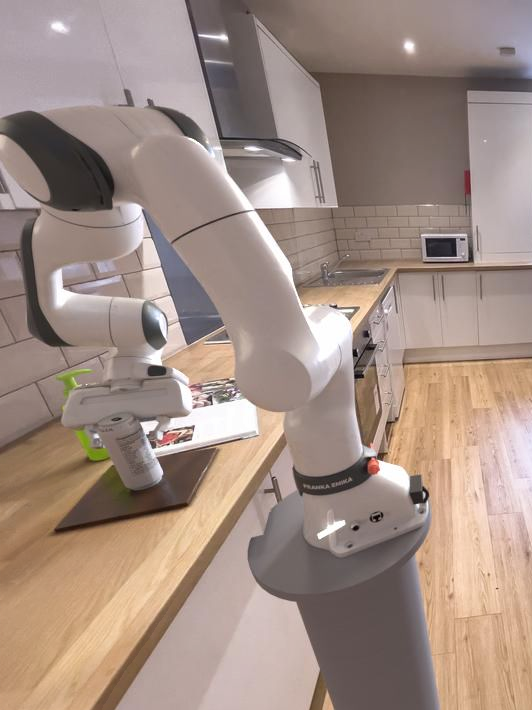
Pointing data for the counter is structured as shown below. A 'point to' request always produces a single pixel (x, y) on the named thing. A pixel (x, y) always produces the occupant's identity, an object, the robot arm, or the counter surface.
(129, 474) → the energy drink can
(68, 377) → the soap dispenser
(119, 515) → the coaster board
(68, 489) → the counter surface
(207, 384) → the counter surface
